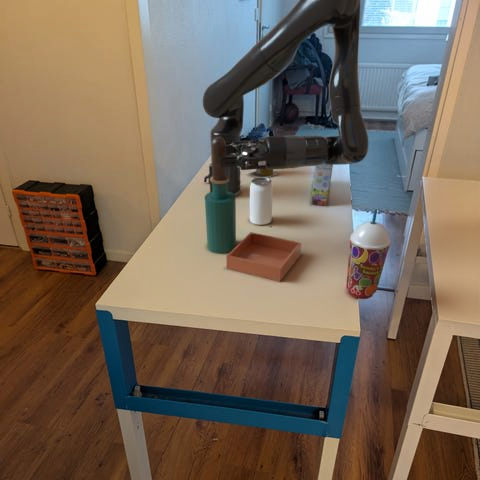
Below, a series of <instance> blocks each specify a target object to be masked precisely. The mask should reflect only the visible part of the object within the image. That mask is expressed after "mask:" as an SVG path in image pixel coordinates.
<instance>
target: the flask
mask: <svg viewBox="0 0 480 480" xmlns="http://www.w3.org/2000/svg"><path fill="white" fill-rule="evenodd" d="M212 187H213V192H210V191H209V192H207V193H206V194H205V195H204V207H205V228H206V229H205V230H206V245H207V250H208V251H210V252H212V253H215V254H229V253H230V252H231V251H232V250H233V249H234V248H235V247H236V246H237V212H236V211H237V203H236V202H237V200H236V199H237V196H235V194H233V193H231V192H228V191H227V183H225V184H214V183H212Z"/></svg>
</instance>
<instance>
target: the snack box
mask: <svg viewBox="0 0 480 480" xmlns="http://www.w3.org/2000/svg"><path fill="white" fill-rule="evenodd" d="M333 167H334V165H326V164H322V165H318V166H314V169H313V179H312V189H311V202H310V205H315V206H316V205H317V206H327V205H328V201H329V196H330V195H329V194H330V189H331V181H332V175H333Z"/></svg>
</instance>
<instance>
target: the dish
mask: <svg viewBox="0 0 480 480" xmlns="http://www.w3.org/2000/svg"><path fill="white" fill-rule="evenodd" d="M301 249H302V242H299V241H295V240H290V239H286V238H282V237H276V236H271V235H266V234H263V233H257V232H253V231H250V232H249V233H248V234H247V235H246V236H245V237H244V238H243V239H242V240H241V241H240V242H239V243H237V244H236V247H235V248H234V249H233V250H232V251H231V252H228V253H227V254H226V256H225V257H226V269H227V270H230V271H231V270H232V271H236V272H238V273H239V272H240V273H244V274H247V275H250V276H251V275H252V276H256V277H260V278H263V279H268V280H270V281H271V280H272V281H276V282H281V281H282V279H283V278H284V277H285V276H286V274H287V273H288V272H289V271H290V269H291V268H292V267H293V265H294V264H295V263H296V261H297V260H298V259H299V258H300V256H301V251H302V250H301Z"/></svg>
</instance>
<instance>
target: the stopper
mask: <svg viewBox="0 0 480 480" xmlns="http://www.w3.org/2000/svg"><path fill="white" fill-rule="evenodd" d="M211 149H212V162H211V163H212V174H213V176H212V177H211V178H210V181H211V182H212V183H214V184H225V183H227V182H229V177H227V172H226V167H221V166H220V157H221V156H226V142H225V140H224V139H223V138H222V137H215V138H214V139H213V140H212V143H211V142H210V150H211Z"/></svg>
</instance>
